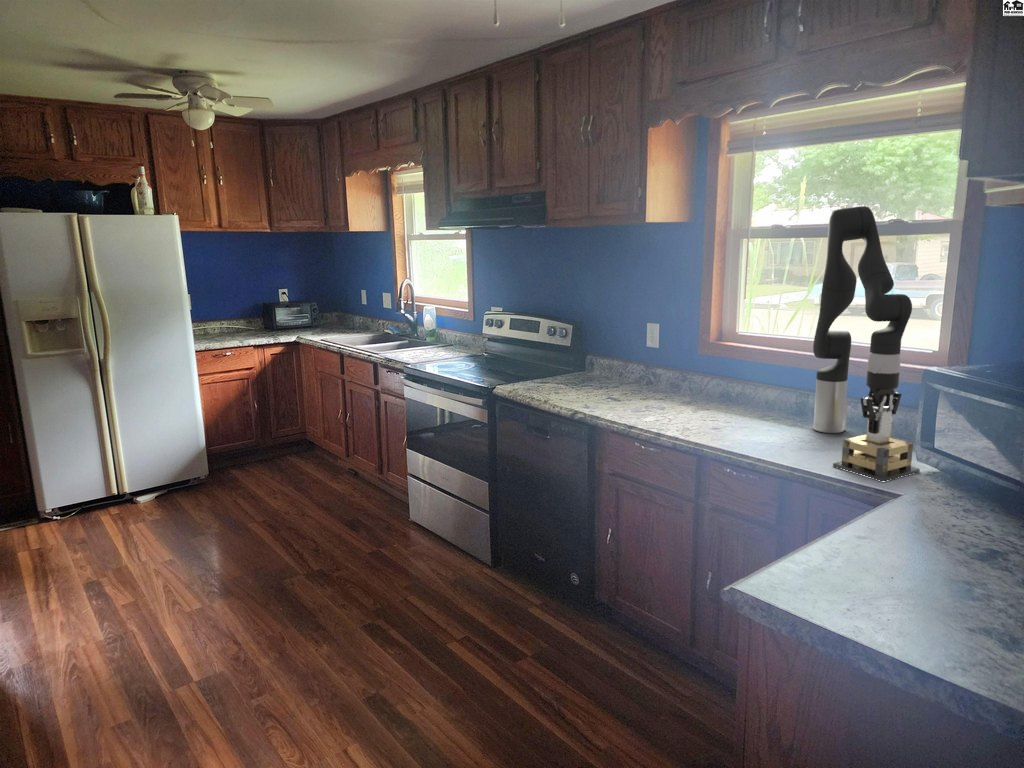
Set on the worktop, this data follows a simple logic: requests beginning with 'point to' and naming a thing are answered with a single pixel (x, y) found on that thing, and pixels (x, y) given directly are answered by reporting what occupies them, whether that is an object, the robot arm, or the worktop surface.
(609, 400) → the worktop surface
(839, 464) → the collar stand
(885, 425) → the tall white block
